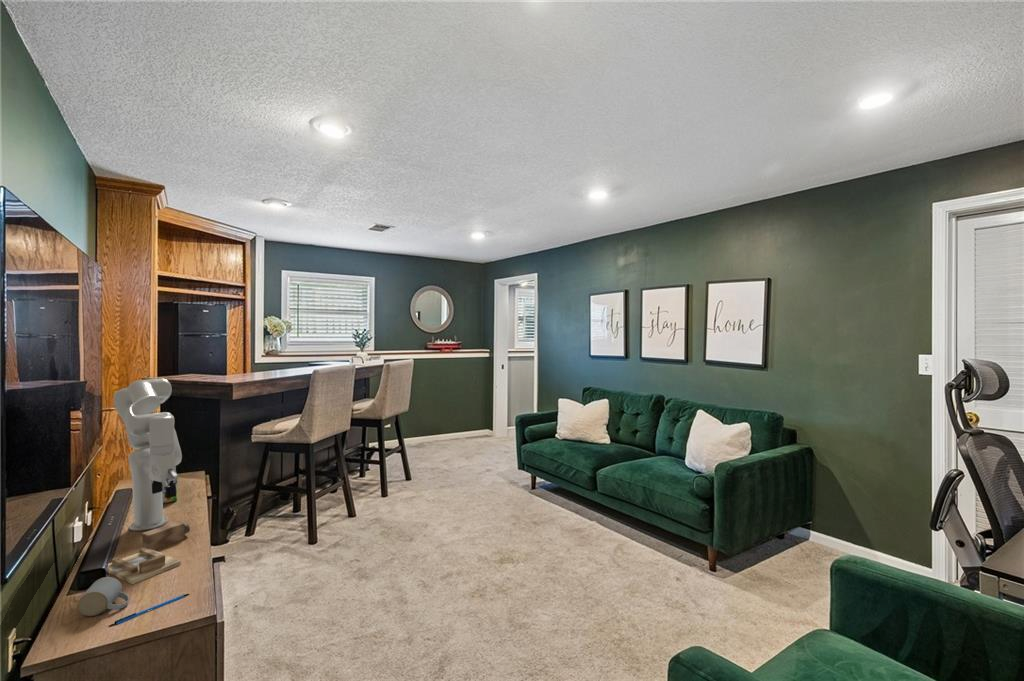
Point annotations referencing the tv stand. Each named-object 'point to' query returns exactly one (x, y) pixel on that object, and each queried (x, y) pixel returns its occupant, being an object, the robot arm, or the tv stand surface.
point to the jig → (141, 565)
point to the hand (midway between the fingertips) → (164, 494)
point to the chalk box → (165, 493)
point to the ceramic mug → (102, 597)
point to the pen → (146, 610)
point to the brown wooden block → (164, 535)
